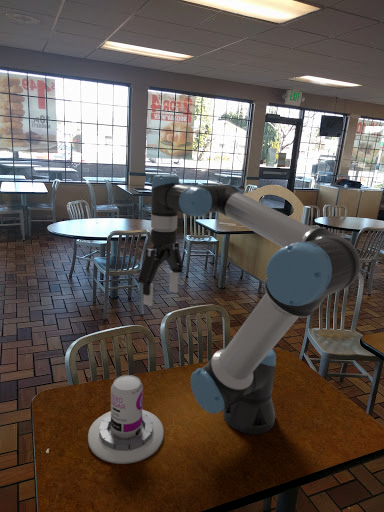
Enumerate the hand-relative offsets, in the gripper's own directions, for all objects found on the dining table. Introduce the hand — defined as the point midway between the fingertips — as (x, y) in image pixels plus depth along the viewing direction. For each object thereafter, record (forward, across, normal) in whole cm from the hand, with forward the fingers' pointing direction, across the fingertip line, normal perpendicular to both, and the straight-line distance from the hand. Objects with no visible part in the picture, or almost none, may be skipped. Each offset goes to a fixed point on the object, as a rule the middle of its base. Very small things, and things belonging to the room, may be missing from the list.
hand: (161, 298), depth 118 cm
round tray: (+32, +22, +5) cm, 39 cm away
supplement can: (+31, +22, +5) cm, 38 cm away
